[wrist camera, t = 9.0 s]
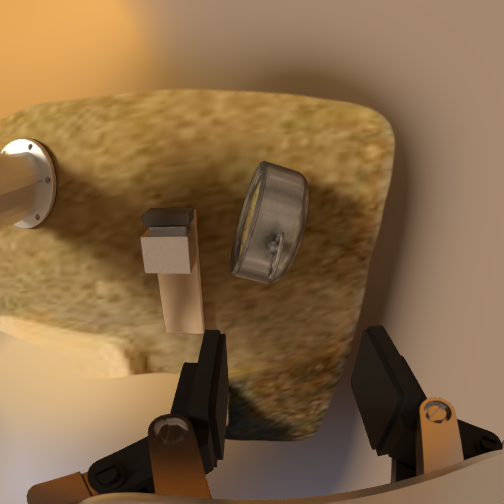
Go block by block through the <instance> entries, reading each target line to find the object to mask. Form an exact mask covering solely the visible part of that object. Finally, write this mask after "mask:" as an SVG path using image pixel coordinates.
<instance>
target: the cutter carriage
mask: <svg viewBox="0 0 504 504" xmlns="http://www.w3.org/2000/svg"><path fill="white" fill-rule="evenodd" d="M141 246H142V254H143V261H144V268H145V273H167V274H190V273H191V271H192V269H193V267H194V264H195V262H196V247H195V231H194V226H189V225H174V226H150V227H149V230H148V231H147V232H146V233H144V234H143V235H142V236H141Z"/></svg>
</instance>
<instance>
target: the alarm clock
mask: <svg viewBox="0 0 504 504" xmlns="http://www.w3.org/2000/svg"><path fill="white" fill-rule="evenodd" d="M308 212H309V188H308V184H307V181H306V179H305V177H304V176H303V175H302V174H301V173H299V172H297V171H294V170H291V169H288V168H285V167H282V166H279V165H275V164H272V163H269V162H266V161H263V162H261V163H260V164H259V166H258V167H257V169H256V171H255V173H254V175H253V178H252V181H251V184H250V186H249V189H248V192H247V195H246V198H245V201H244V204H243V207H242V211H241V214H240V218H239V222H238V226H237V230H236V234H235V239H234V243H233V247H232V253H231V260H230V273H231V275H232V276H236V277H241V278H245V279H249V280H253V281H257V282H261V283H265V284H272V283H275V282H277V281H278V280H280V279H281V278H282V277H283V276H284V275H285V274H286V272H287V271H288V270H289V268H290V266H291V265H292V263H293V261H294V259H295V257H296V254H297V252H298V250H299V247H300V244H301V243H302V238H303V235H304V231H305V227H306V223H307V218H308Z"/></svg>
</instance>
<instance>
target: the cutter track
mask: <svg viewBox="0 0 504 504" xmlns="http://www.w3.org/2000/svg"><path fill="white" fill-rule="evenodd" d="M142 221H143V226H174V225H189V226H194V231H195V247H196V262H195V264H194V267H193V269H192V271H191V273H190V274H167V273H158V280H159V288H160V295H161V301H162V308H163V314H164V320H165V326H166V332H173V333H196V334H203V333H204V328H205V324H204V314H203V302H202V290H201V277H200V263H199V248H198V232H197V213H196V209H194V207H179V208H151V209H149V210H148V211H147V212H145V213H144V214H143V215H142Z"/></svg>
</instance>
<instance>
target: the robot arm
mask: <svg viewBox="0 0 504 504" xmlns="http://www.w3.org/2000/svg"><path fill="white" fill-rule="evenodd" d="M55 195H56V175H55V169H54V166H53V163H52V160H51V158H50V156H49V154H48V152H47V151H46V149H45V148H44V147H43V146H42V145H41V144H40V143H39V142H37V141H35V140H33V139H29V138H22V139H17V140H14V141H12V142H10V143H9V144H8V145H7V146H6V147H5V148H4V149H3V150H2V152H1V153H0V231H2V230H4V229H6V228H8V227H10V226H12V225H14V226H16V227H19V228H25V229H27V228H32V227H34V226H36V225H38V224H40V223H41V222H43V221H44V220H45V218H46V217H47V216H48V214H49V213H50V211H51V209H52V206H53V204H54V200H55ZM351 387H352V390H353V393H354V396H355V398H356V402H357V405H358V408H359V411H360V413H361V417H362V420H363V423H364V426H365V429H366V432H367V435H368V439H369V442H370V445H371V448H372V449H373V450H375V449H376V452H377V455H378V456H381V455H386V454H388V455H389V457H391V458H392V463H391V483H390V484H385V485H381V486H376V487H372V488H366V489H361V490H356V491H350V492H344V493H337V494H330V495H323V496H313V497H303V498H289V499H268V500H231V499H212V495H211V493H210V489H209V485H208V482H207V478H206V474H208V473H209V472H211V471H212V470H213V468H214V467H217V460H223V455H224V442H225V430H226V417H227V405H228V393H229V381H228V366H227V350H226V335H225V334H220V330H205V332H204V337H203V341H202V346H201V350H200V355H199V359H198V363H187V362H185V363H184V364H183V367H182V371H181V375H180V378H179V382H178V386H177V390H176V393H175V397H174V401H173V405H172V409H171V413H170V414H165V415H161V416H159V417H157V418H156V419H154V420H153V421H152V422H151V424H150V425H149V428H148V436H147V437H145V438H143V439H141V440H139V441H138V442H136V443H133V444H132V445H129V446H127V447H125V448H124V449H122V450H119V451H117V452H115V453H113V454H111V455H109V456H107V457H104V458H102V459H100V460H98V461H96V462H95V463H93V464H92V466H91V467H90V468H89V470H88V472H86V473H83V474H81V473H80V472H76V473H74V474H70V475H67V476H64V477H60V478H57V479H54V480H50V481H47V482H43V483H40V484H36V485H34V486H32V487H31V488H30V489H29V490H28V494H27V502H28V504H504V441H503V442H502V443H501V441H500V440H499V438H498V436H496V435H495V434H494V433H492V432H490V431H487V430H484V429H482V428H479V427H476V426H474V425H471V424H469V423H466V422H464V421H461V420H458V419H457V417H456V413H455V410H454V407H453V406H452V405H451V404H450V403H449V402H448V401H446V400H444V399H442V398H436V397H435V398H429V399H427V398H426V396H425V394H424V392H423V390H422V389H421V387H420V385H419V383H418V381H417V380H416V378H415V376H414V374H413V372H412V371H411V369H410V367H409V366H408V364H407V362H406V360H405V359H404V357H403V356H401V355H400V354H399V352H398V350H397V349H396V347H395V345H394V344H393V342H392V340H391V339H390V337H389V335H388V334H387V332H386V330H385V329H384V327H383V326H369V327H368V328H367V330H364V331H363V334H362V338H361V342H360V347H359V351H358V355H357V359H356V363H355V367H354V371H353V375H352V379H351Z"/></svg>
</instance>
